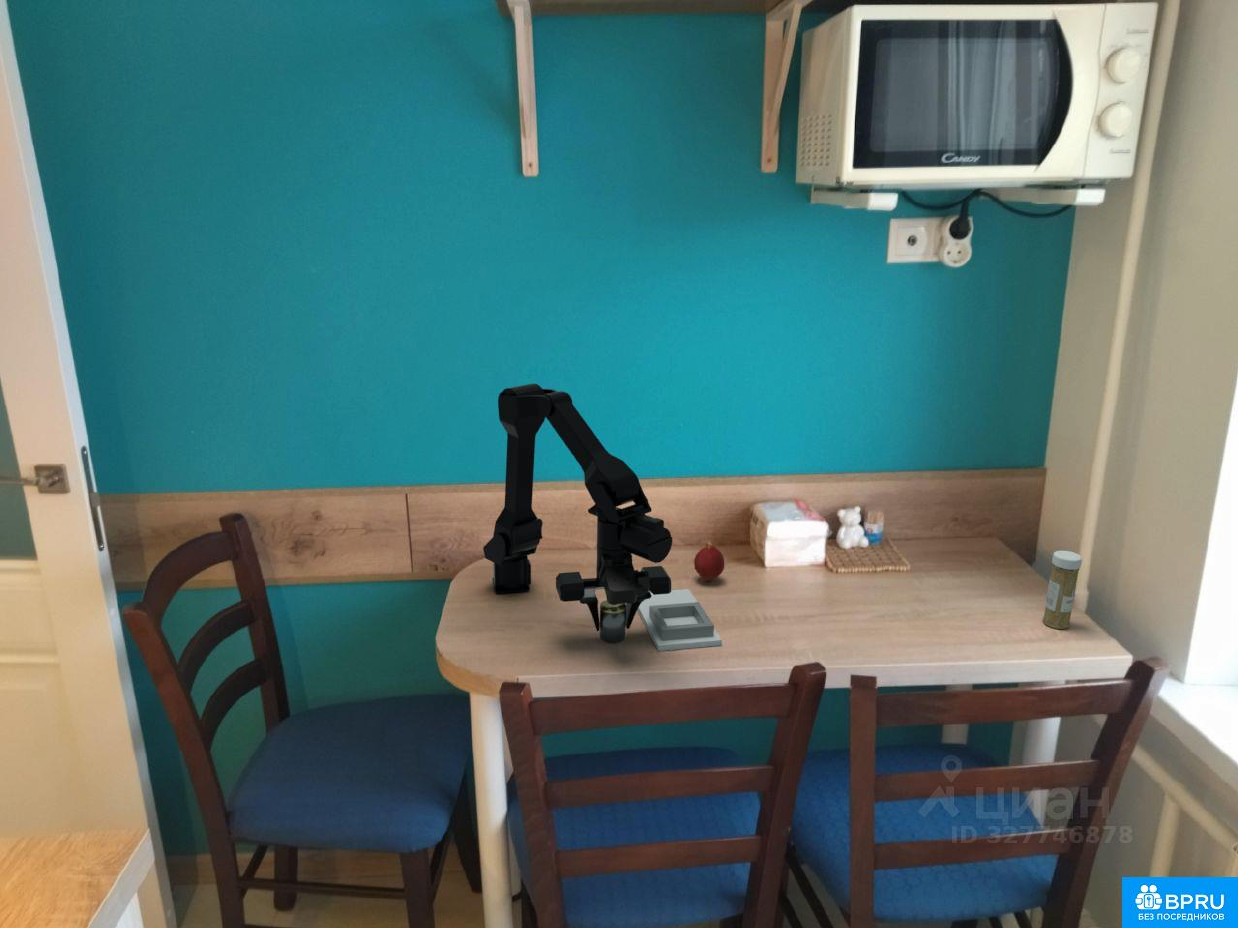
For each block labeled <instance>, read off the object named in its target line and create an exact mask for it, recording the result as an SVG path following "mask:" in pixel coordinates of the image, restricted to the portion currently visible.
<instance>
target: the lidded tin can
mask: <svg viewBox="0 0 1238 928" xmlns="http://www.w3.org/2000/svg"><path fill="white" fill-rule="evenodd" d="M599 622H600V628H599V640H600V641H601V642H603V643H606V644H613V645H614V644H615V645H616V644H620V643H622V642H624V641H625V640H626V629H627V628H626V603H621V604H617V605H611V604H609V603H608V602H607V599H606V600H604V601H602V602H601V603H599Z"/></svg>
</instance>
